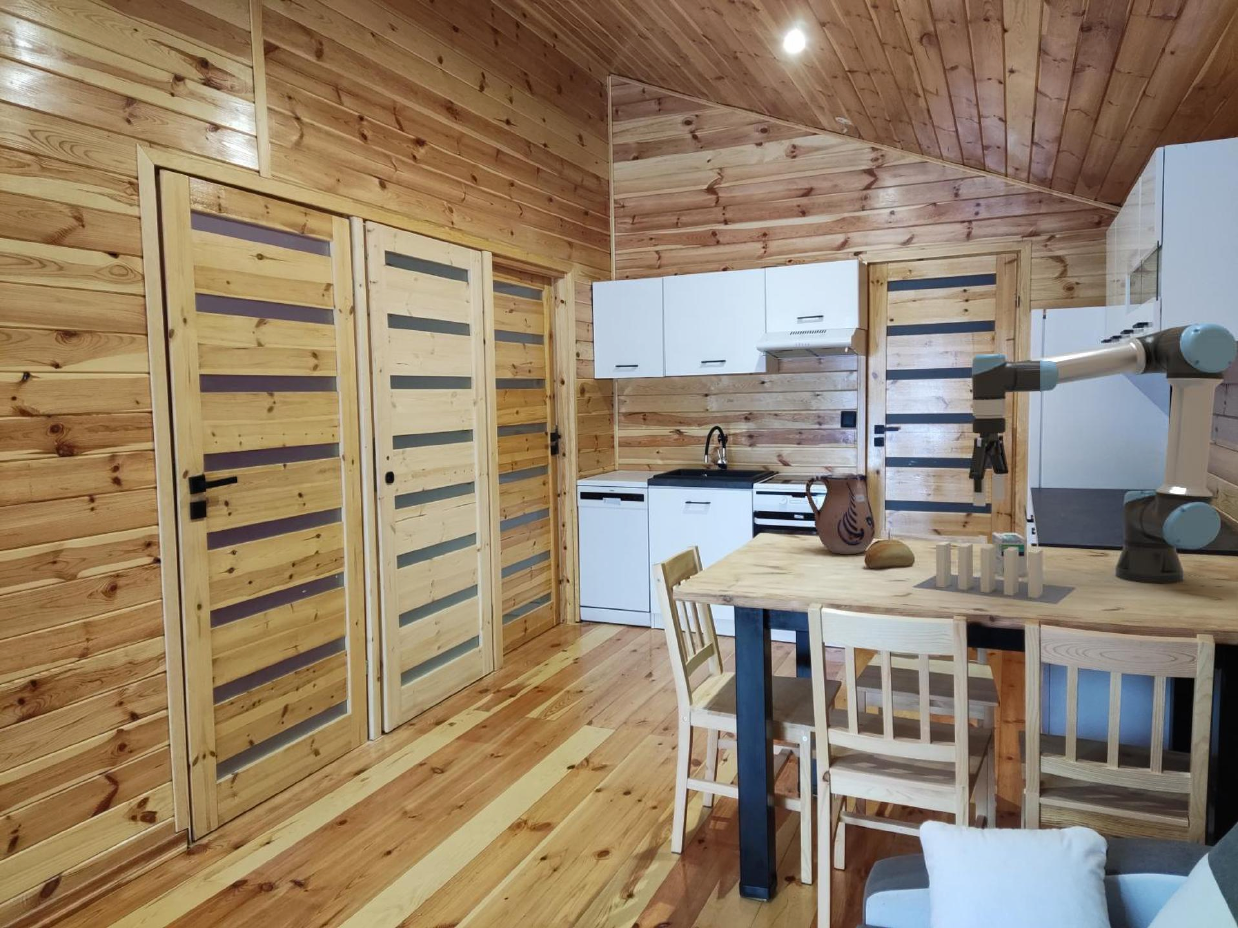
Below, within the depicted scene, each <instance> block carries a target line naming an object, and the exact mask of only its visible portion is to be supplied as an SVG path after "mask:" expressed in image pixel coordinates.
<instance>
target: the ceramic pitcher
mask: <svg viewBox="0 0 1238 928" xmlns="http://www.w3.org/2000/svg"><path fill="white" fill-rule="evenodd" d="M867 477H868V475H867V474H863V473H858V474H854V473H852V472H850V473H849V472H848V473H846V472H843V473H835V474H834V473H832V474H831V473H830V474H826V475H824V474H823V475H814V476H812V477H810V478H809V479H808V480H807V482H806V484H805V495H806V498H807V500H808V501H807V502H808V503H809V506H810V508H811V510H812V512H813V515H814V527H815V529H816V530H817V533H818V538H819V540H820V542H821V544H822V545H823V546H824V547H825V548H826V550H828V551H829V552H831V553H834V554H838V553H839V554H838V555H855V554H860V553H863V552H864V551H866V550H868V548H869V547H870V546H871V544H872V542H873V540H874V537H875V532H876V531H875V530H876V526H875V525H876V524H875V520H874V516H873V511H872V507H871V505H870V500H869V497H868V492H867V480H868V479H867ZM816 482H821V483H823V484H824V486H825V488H826V493H825V496H824V499H823V502H822V504H821V507H820V508H819V509H818V507H817V505H816V504H815V502H814V500H813V496H812V494H811V493H812V492H811V488H812V485H813V484H814V483H816Z"/></svg>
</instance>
